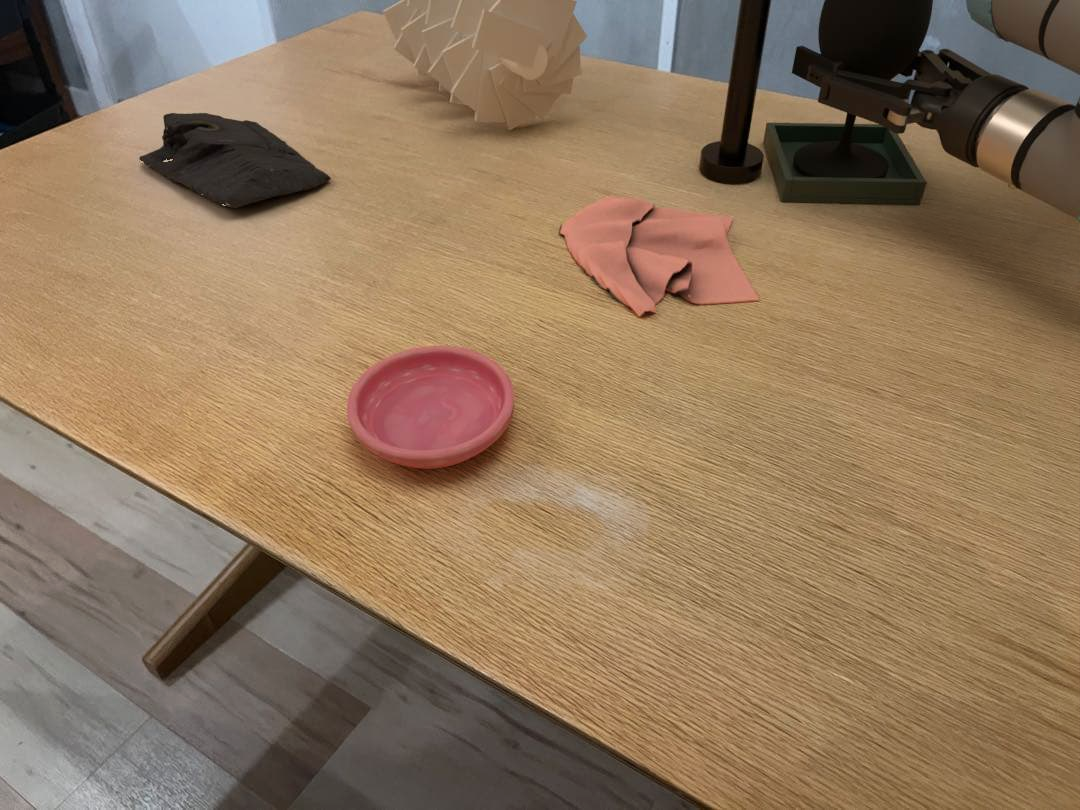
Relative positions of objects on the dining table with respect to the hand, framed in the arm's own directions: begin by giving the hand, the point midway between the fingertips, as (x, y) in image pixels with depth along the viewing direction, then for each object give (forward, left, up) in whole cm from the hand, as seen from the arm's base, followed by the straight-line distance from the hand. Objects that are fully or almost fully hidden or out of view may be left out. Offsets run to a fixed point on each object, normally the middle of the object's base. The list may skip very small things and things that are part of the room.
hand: (833, 51), depth 88 cm
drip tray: (-2, +4, -12) cm, 13 cm away
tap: (+8, +4, -12) cm, 15 cm away
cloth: (+19, +23, -12) cm, 32 cm away
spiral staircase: (+40, -14, -12) cm, 44 cm away
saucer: (+37, +48, -12) cm, 62 cm away
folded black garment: (+67, +7, -12) cm, 68 cm away
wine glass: (-2, +4, -11) cm, 12 cm away
